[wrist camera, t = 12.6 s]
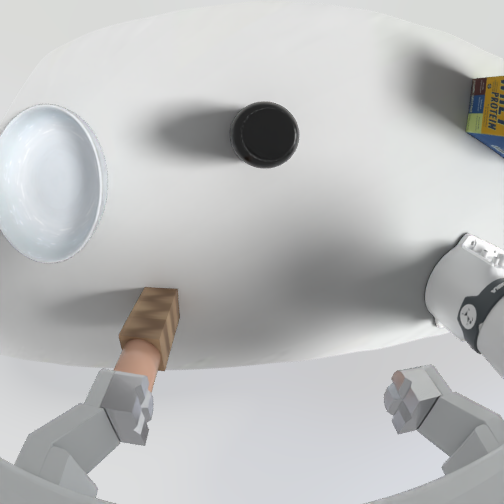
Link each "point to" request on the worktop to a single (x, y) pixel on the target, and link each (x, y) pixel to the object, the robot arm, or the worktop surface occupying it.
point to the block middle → (156, 314)
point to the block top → (148, 335)
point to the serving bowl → (50, 183)
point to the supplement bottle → (264, 135)
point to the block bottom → (163, 299)
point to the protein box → (487, 112)
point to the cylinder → (140, 360)
